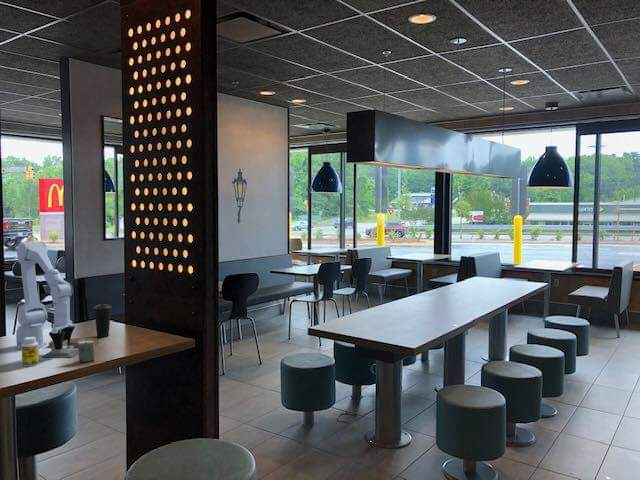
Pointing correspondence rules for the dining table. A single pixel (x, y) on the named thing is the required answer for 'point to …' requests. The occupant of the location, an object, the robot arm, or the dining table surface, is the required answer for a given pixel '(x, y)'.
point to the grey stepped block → (64, 351)
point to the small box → (86, 351)
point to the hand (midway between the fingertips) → (62, 346)
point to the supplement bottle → (30, 352)
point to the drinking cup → (102, 319)
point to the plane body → (75, 341)
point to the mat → (61, 355)
